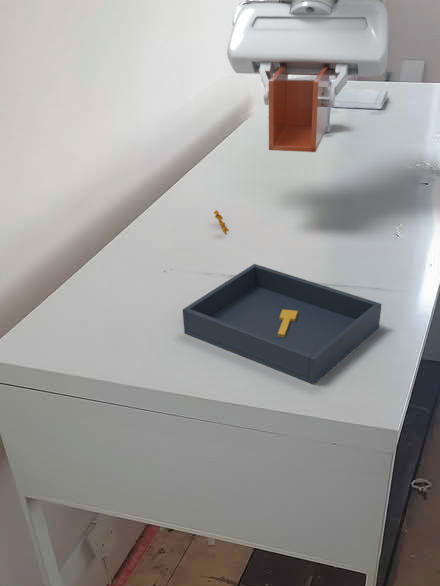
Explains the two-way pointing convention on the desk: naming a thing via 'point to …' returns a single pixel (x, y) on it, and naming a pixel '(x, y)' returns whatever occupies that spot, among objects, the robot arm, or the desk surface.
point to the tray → (265, 320)
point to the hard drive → (360, 98)
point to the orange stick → (221, 222)
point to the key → (286, 321)
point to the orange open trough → (297, 111)
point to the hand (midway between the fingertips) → (298, 104)
